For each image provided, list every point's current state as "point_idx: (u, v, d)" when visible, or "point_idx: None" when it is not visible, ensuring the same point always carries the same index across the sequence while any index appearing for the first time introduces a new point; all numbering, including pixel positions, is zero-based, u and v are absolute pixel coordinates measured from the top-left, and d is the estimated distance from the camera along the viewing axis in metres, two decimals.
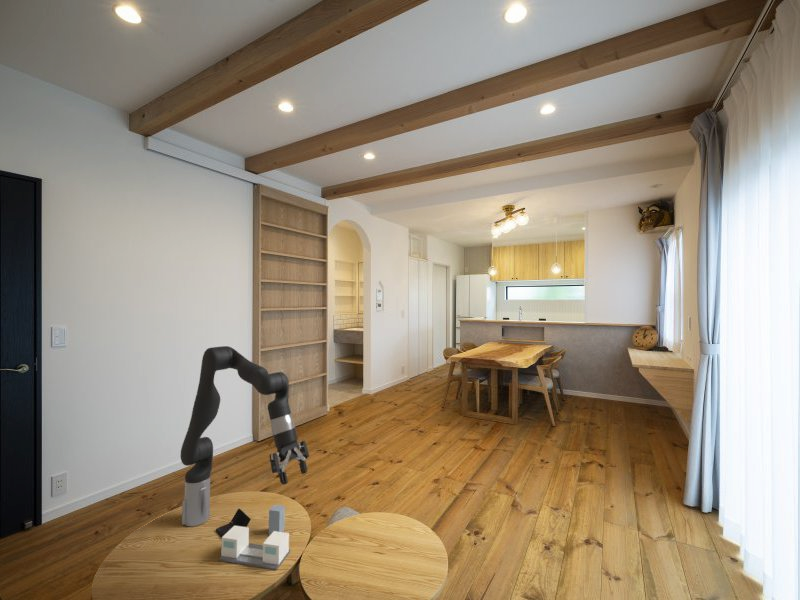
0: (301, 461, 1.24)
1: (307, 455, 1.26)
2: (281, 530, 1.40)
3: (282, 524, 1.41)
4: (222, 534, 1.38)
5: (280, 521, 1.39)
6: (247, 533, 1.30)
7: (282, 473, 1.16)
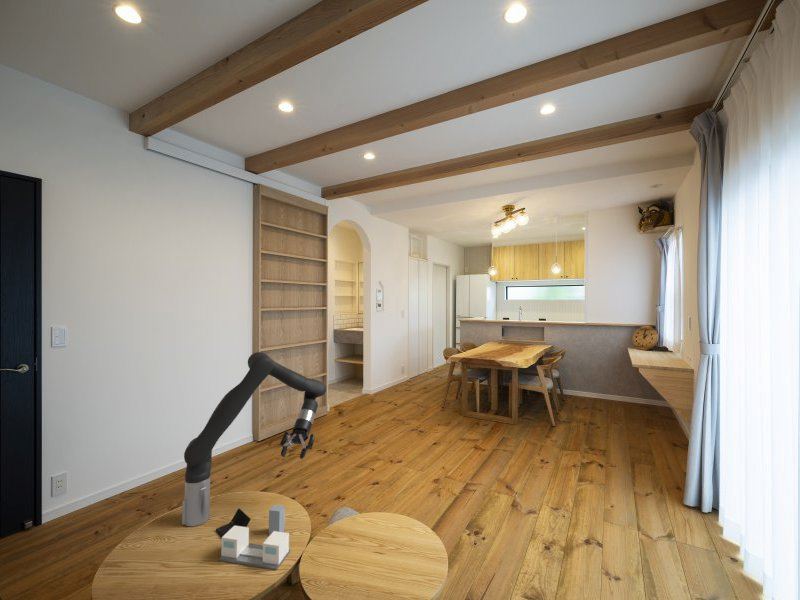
0: (286, 447, 1.56)
1: None
2: (281, 530, 1.40)
3: (282, 524, 1.41)
4: (222, 534, 1.38)
5: (280, 521, 1.39)
6: (247, 533, 1.30)
7: None
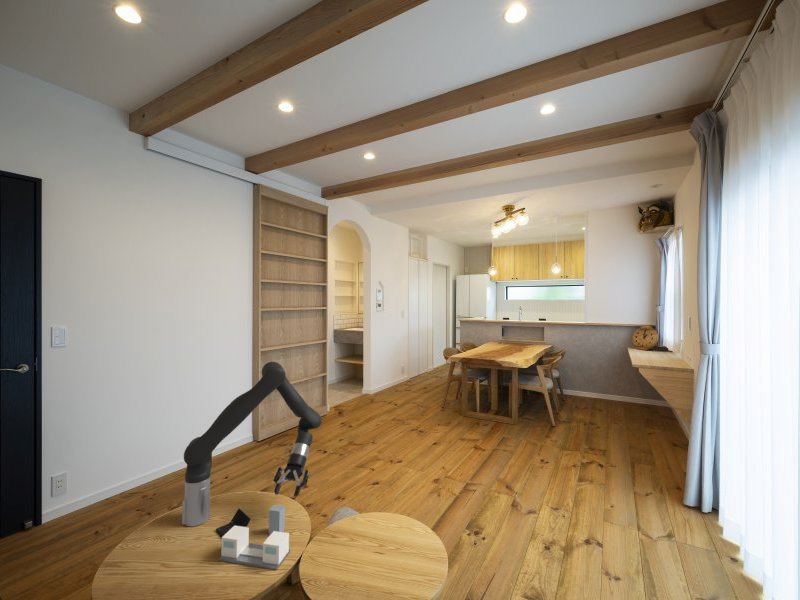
0: (280, 484, 1.51)
1: None
2: (281, 530, 1.40)
3: (282, 524, 1.41)
4: (222, 534, 1.38)
5: (280, 521, 1.39)
6: (247, 533, 1.30)
7: None
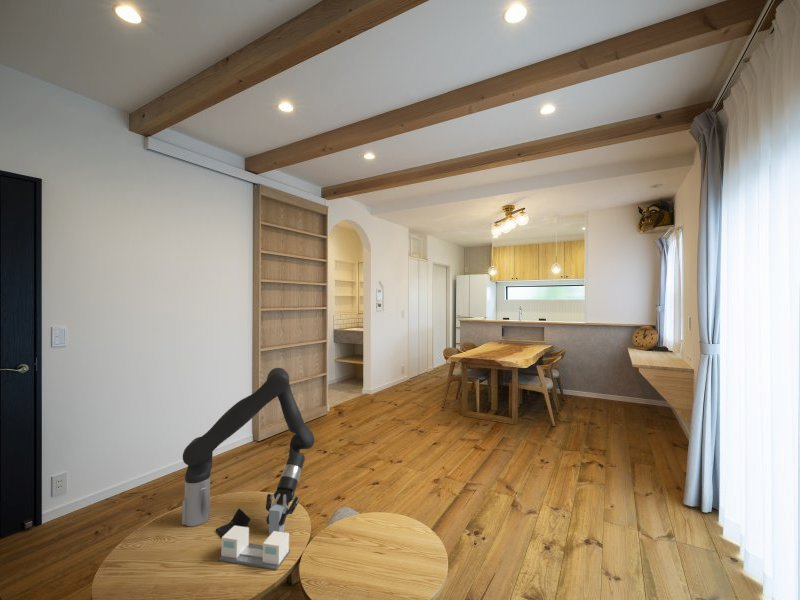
0: None
1: None
2: (281, 530, 1.40)
3: None
4: (222, 534, 1.38)
5: None
6: (247, 533, 1.30)
7: None
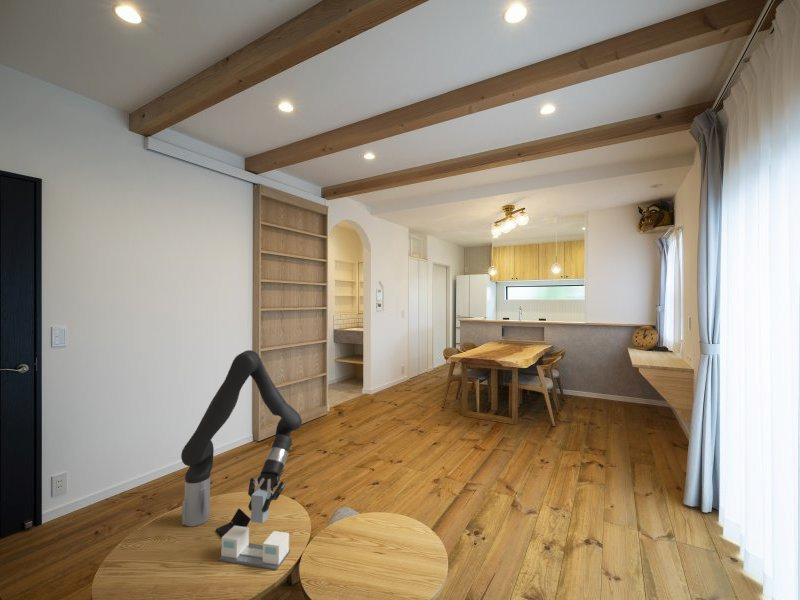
0: None
1: None
2: (265, 517, 1.29)
3: None
4: (222, 534, 1.38)
5: None
6: (247, 533, 1.30)
7: None
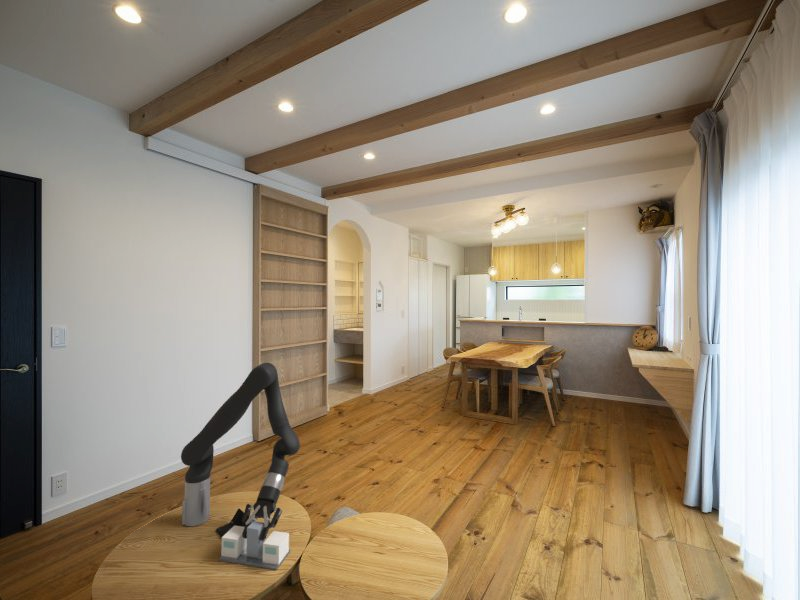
0: None
1: None
2: (260, 550, 1.26)
3: (262, 543, 1.27)
4: (222, 534, 1.38)
5: (259, 540, 1.26)
6: None
7: None
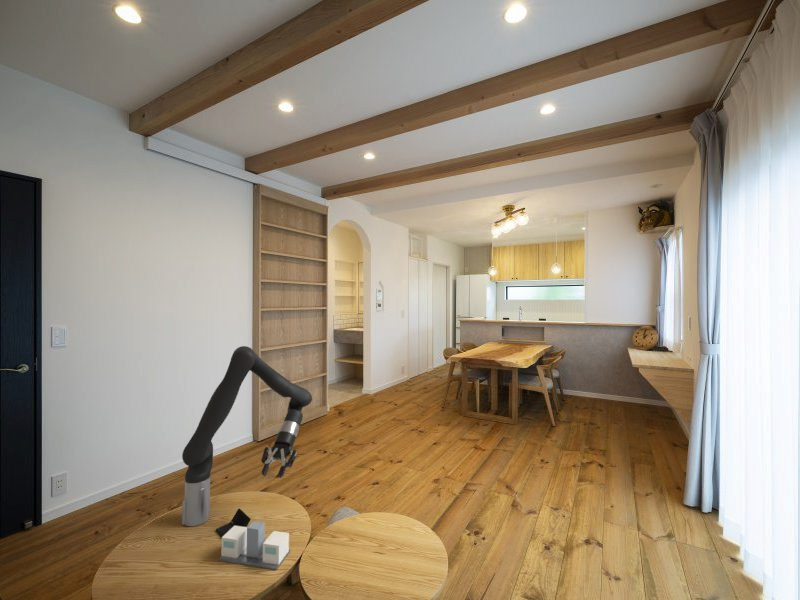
0: (268, 464, 1.41)
1: None
2: (260, 550, 1.26)
3: (262, 543, 1.27)
4: (222, 534, 1.38)
5: (259, 540, 1.26)
6: None
7: None
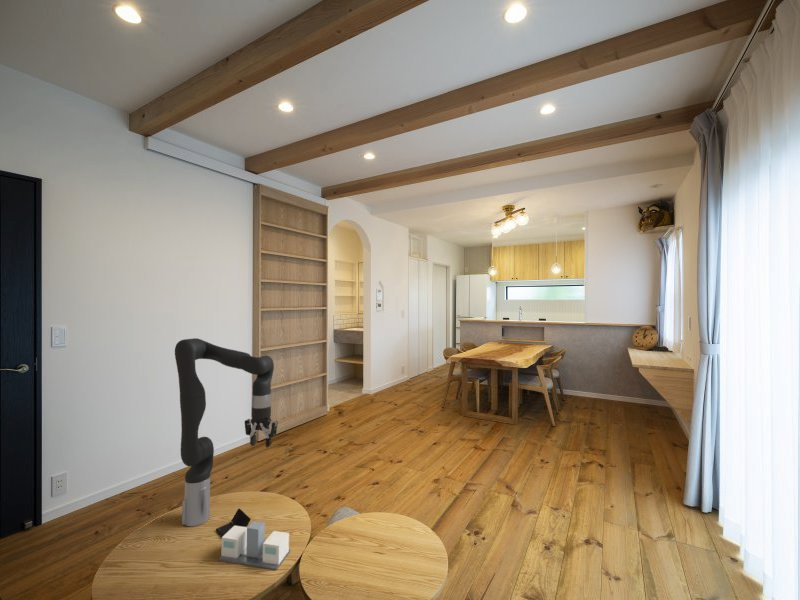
0: (254, 434, 1.48)
1: None
2: (260, 550, 1.26)
3: (262, 543, 1.27)
4: (222, 534, 1.38)
5: (259, 540, 1.26)
6: None
7: None
